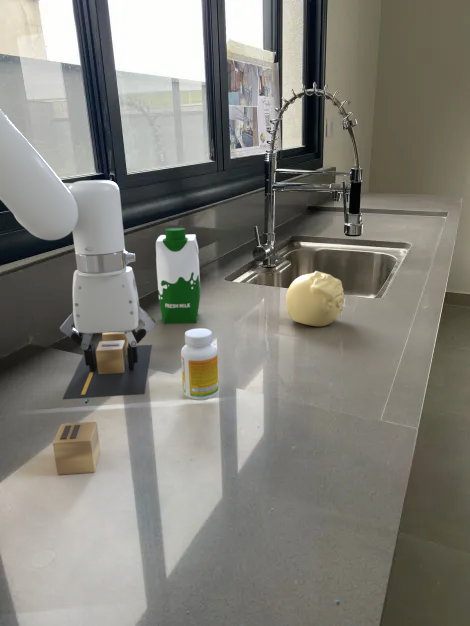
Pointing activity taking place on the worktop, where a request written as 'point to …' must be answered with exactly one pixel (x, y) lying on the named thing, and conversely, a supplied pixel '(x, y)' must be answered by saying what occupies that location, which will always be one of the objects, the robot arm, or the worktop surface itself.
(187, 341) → the supplement bottle
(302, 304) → the pale yellow lumpy ball
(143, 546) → the worktop surface
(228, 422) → the worktop surface
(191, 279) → the milk carton
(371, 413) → the worktop surface
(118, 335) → the small cardboard box
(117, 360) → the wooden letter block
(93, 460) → the striped cardboard box
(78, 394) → the word mat
